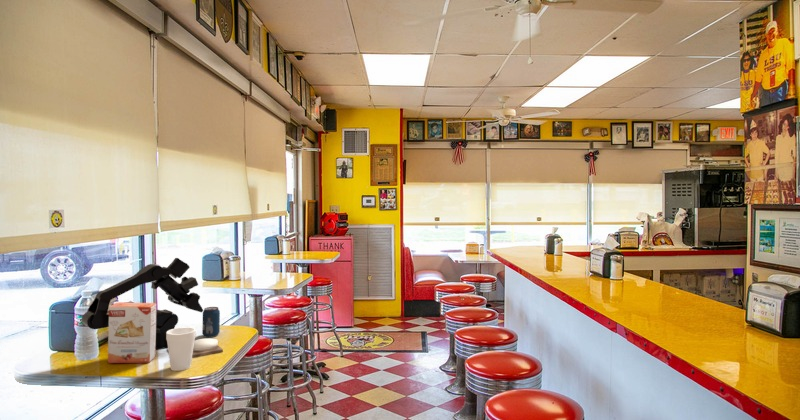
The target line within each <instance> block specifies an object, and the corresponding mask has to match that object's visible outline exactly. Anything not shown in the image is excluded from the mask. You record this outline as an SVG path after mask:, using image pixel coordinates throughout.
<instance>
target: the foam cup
mask: <svg viewBox="0 0 800 420" xmlns="http://www.w3.org/2000/svg"><path fill="white" fill-rule="evenodd" d="M196 336H197V328H195V327H190V326H187V327H186V326H185V327H182V326H181V327H175V328H174V329H171V330H169V331H167V333H166V340H167V344H168V347H167V350H168V351H167V352H168V358H169V365H170V370H172V371H175V372H177V371H178V372H179V371H180V372H181V371H186V370H188V369H190V368H191V365H192V359H193V358H192V354H193V347H194V341H195V340H196Z"/></svg>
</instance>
